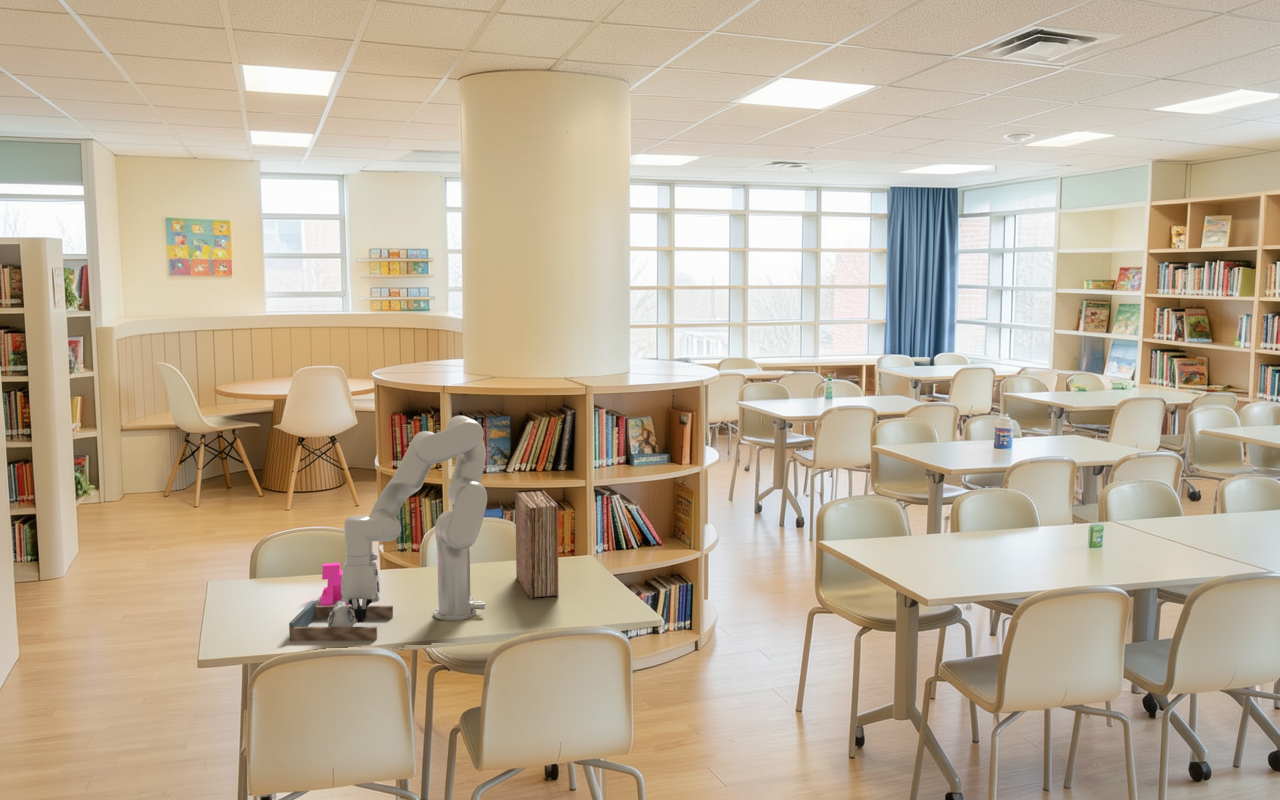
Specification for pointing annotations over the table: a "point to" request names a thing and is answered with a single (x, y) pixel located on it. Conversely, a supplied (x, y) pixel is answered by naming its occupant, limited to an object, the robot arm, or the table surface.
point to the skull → (341, 616)
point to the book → (536, 543)
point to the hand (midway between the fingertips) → (361, 621)
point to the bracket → (332, 584)
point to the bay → (311, 611)
